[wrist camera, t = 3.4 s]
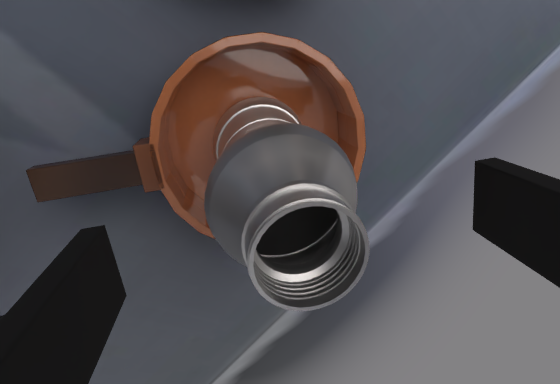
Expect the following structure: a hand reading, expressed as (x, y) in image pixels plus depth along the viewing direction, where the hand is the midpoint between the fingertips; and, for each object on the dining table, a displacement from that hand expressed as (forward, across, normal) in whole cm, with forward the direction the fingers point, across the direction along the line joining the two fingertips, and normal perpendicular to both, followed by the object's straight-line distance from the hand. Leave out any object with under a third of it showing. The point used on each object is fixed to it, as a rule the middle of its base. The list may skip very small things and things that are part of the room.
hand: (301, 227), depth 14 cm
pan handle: (+15, -11, 0) cm, 19 cm away
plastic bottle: (+18, 0, 0) cm, 18 cm away
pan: (+18, 0, 0) cm, 18 cm away
